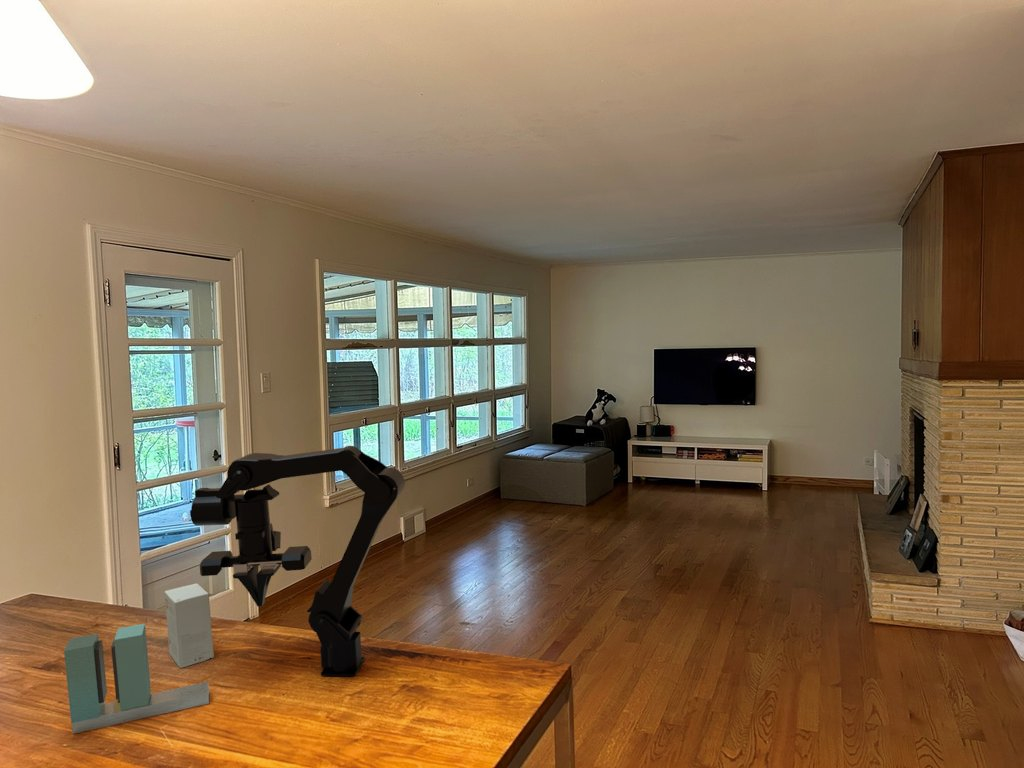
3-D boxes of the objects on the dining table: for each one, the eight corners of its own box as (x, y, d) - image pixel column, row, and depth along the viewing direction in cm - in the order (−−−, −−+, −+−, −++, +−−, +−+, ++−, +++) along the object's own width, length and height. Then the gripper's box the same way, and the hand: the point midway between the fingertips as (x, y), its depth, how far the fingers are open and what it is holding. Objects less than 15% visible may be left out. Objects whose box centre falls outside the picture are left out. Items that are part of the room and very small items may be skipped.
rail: (209, 691, 124) (203, 614, 122) (208, 704, 119) (202, 625, 118) (78, 719, 116) (70, 638, 115) (72, 735, 112) (64, 650, 110)
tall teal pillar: (151, 690, 120) (144, 623, 119) (148, 704, 116) (142, 634, 114) (120, 697, 118) (114, 629, 117) (116, 711, 114) (109, 640, 113)
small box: (214, 658, 136) (209, 593, 135) (179, 669, 132) (174, 602, 131) (202, 644, 142) (197, 582, 141) (168, 654, 138) (163, 590, 137)
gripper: (315, 508, 137) (321, 585, 138) (218, 514, 136) (225, 592, 137) (300, 525, 126) (307, 609, 127) (194, 531, 125) (202, 615, 126)
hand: (260, 605), depth 130 cm, fingers closed
